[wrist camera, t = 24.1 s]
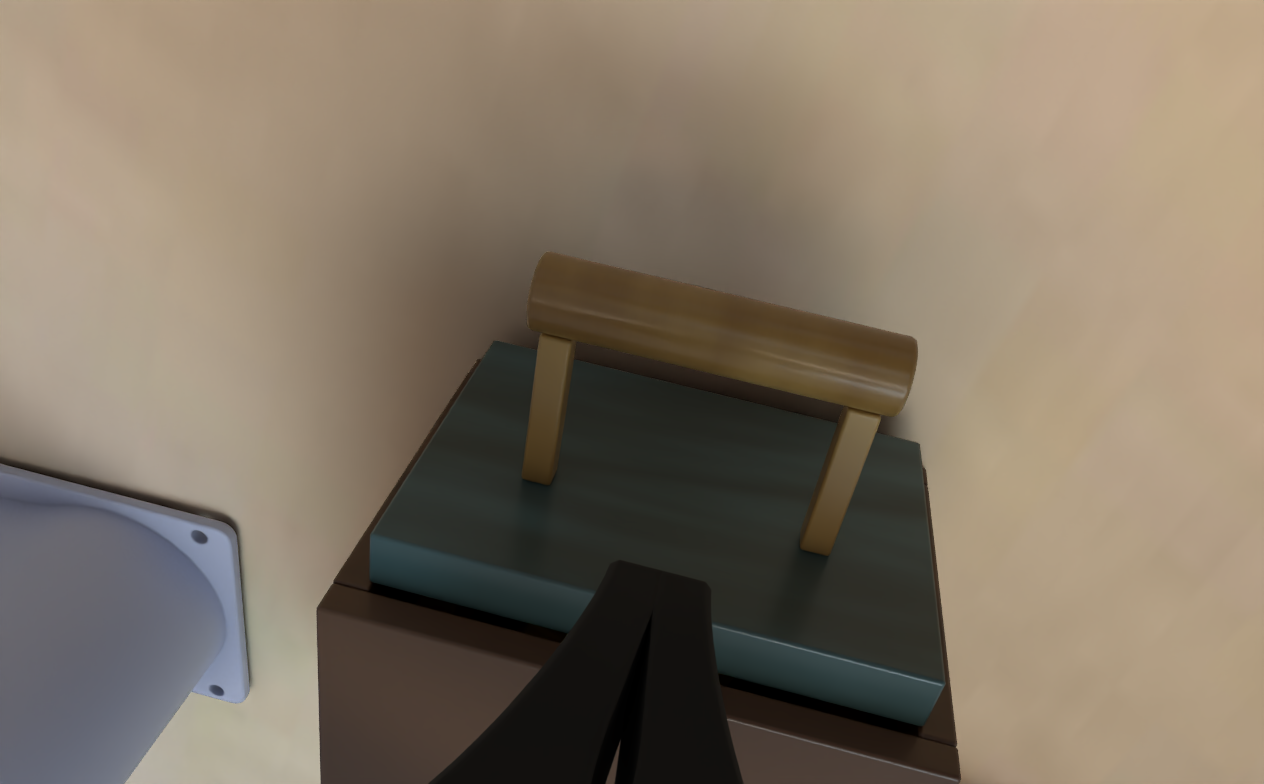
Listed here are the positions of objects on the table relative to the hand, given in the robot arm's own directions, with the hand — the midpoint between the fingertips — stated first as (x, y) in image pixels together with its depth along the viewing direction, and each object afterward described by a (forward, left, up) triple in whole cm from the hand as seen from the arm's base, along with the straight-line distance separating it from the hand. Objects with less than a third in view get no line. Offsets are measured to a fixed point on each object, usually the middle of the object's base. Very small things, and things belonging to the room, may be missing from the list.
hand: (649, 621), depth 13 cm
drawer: (0, -6, -10) cm, 11 cm away
